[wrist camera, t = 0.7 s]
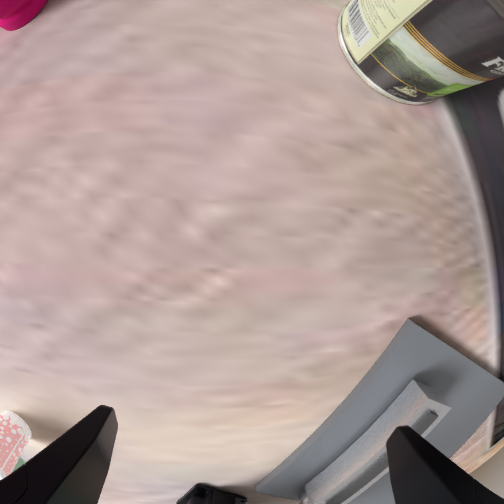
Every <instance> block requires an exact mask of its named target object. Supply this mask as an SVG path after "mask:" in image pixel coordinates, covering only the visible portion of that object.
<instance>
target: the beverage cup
mask: <svg viewBox="0 0 504 504" xmlns="http://www.w3.org/2000/svg"><path fill="white" fill-rule="evenodd" d="M31 436H32V435H31V430H30V428H29V427H28V425H27V424H26V423H25V421H23V420H22V419H21V418H20V417H19V416H18V415H17V414H15V413H14V412H12V411H9V410H5V411H4V412H3V413H2V414H1V415H0V480H1V479H3V478H5V477H6V476H8V475H9V474H11V473H12V471H13V469H14V467H15V465H16V463H17V461H18V459H19V458H20V456H21V454H22V452H23V450H24V448H25V447H26V445H27V443H28V441H29V439H30V438H31Z"/></svg>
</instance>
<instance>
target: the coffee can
mask: <svg viewBox="0 0 504 504" xmlns="http://www.w3.org/2000/svg"><path fill="white" fill-rule="evenodd" d="M337 29H338V38H339V42H340V45H341V48H342V50H343V53H344V55H345V56H346V58H347V60H348V61H349V63H350V65H351V66H352V68H353V69H354V70H355V71H356V72H357V73H358V74H359V76H360V77H361V78H362V79H363V80H364V81H365V82H366V83H367V84H368V85H370V86H371V87H372V88H373V89H375V90H376V91H378V92H379V93H381V94H382V95H384V96H386V97H388V98H390V99H392V100H394V101H397V102H400V103H405V104H410V105H421V104H426V103H429V102H432V101H434V100H435V99H437V98H440V97H442V96H445V95H448V94H450V93H453V92H456V91H459V90H462V89H465V88H468V87H471V86H474V85H477V84H480V83H483V82H486V81H490V80H493V79H497V78H500V77H503V76H504V0H350V1H349V2H348V4H347V5H346V6H345V7H344V8H343V10H342V11H341V13H340V16H339V19H338V23H337Z"/></svg>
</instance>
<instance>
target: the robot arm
mask: <svg viewBox="0 0 504 504" xmlns="http://www.w3.org/2000/svg"><path fill="white" fill-rule="evenodd" d="M117 429H118V423H117V419H116V415H115V411H114V409H113V408H112V407H109V406H105V405H100V406H98V407H97V408H96V409H95V410H93V411H92V412H91V413H89V414H88V415H87V416H86V417H84V418H83V419H82V420H81V421H79V422H78V423H77V424H75V425H74V426H73V427H72V428H70V429H69V430H68V431H67V432H65V433H64V434H63V435H61V436H60V437H59V438H57V439H56V440H55V441H54V442H52V443H51V444H50V445H48V446H47V447H46V448H44V449H43V450H42V451H41V452H39V453H38V454H37V455H35V456H34V457H33V458H31V459H30V460H29V461H27V462H26V463H25V464H23V465H22V466H21V467H19V468H18V469H17V470H15V471H14V472H12V473H11V474H9V475H8V476H6V477H5V478H3V479H1V480H0V504H97V503H98V500H99V497H100V494H101V491H102V488H103V485H104V482H105V479H106V476H107V473H108V470H109V466H110V461H111V457H112V452H113V447H114V443H115V438H116V434H117ZM386 450H387V458H388V466H389V474H390V481H391V486H392V491H393V495H394V500H395V504H504V499H503V498H501V497H500V496H498V495H496V494H495V493H493V492H492V491H490V490H489V489H487V488H486V487H484V486H483V485H482V484H480V483H479V482H478V481H477V480H475V479H473V477H471V476H470V475H469V474H468V473H466V472H465V471H464V470H463V469H461V468H460V467H459V466H458V465H456V464H455V463H454V462H453V461H451V460H450V459H449V458H448V457H446V456H445V455H444V454H443V453H441V452H440V451H439V450H438V449H437V448H435V447H434V446H433V445H432V444H430V443H429V442H428V441H427V440H426V439H424V438H423V437H422V436H421V435H419V434H418V433H417V432H416V431H415V430H413V429H412V428H411V427H410V426H408V425H403V426H398V427H396V428H395V430H394V431H393V432H392V434H391V435H390V437H389V438H388V440H387V442H386ZM246 502H247V498H246V497H242V496H238V495H234V494H231V493H227V492H223V491H220V490H217V489H213V488H210V487H207V486H204V485H200V484H196V485H195V486H194V487H192V488H191V489H190V490H189V491H188V492H187V493H186V494H185V495H184V496H183V497H182V498H180V499H179V500H178V501H177V503H176V504H245V503H246Z"/></svg>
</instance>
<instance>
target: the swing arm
mask: <svg viewBox="0 0 504 504" xmlns="http://www.w3.org/2000/svg"><path fill="white" fill-rule="evenodd" d="M450 409H451V406H450V405H449V404H448V403H447V402H446V400H445V399H444V398H443V397H442V396H441V395H440V393H439V392H438V391H437V390H436V389H433V388H431V387H429V386H427V385H425V384H422V383H420V382H418V381H416V380H414V379H412V381H411V382H410V383H409V384H408V385H407V387H406V388H405V389H404V390H403V391H402V393H401V394H400V395H399V396H398V397H397V398H396V400H395V401H394V402H393V403H392V404H391V405H390V406H389V407H388V409H387V410H386V411H385V412H384V413H383V414H382V415H381V416H380V417H379V418H378V419H377V420H376V421H375V422H374V424H373V425H372V426H371V427H370V428H369V429H368V430H367V431H366V432H365V433H364V434H363V435H362V436H361V437H360V438H359V439H358V440H357V441H355V442H354V443H353V444H352V445H351V446H350V447H349V448H348V449H347V450H346V451H345V452H344V453H343V454H342V455H340V456H339V457H338V458H337V459H336V460H335V461H334V462H333V463H331V464H330V465H329V466H328V467H327V468H326V469H324V470H323V471H322V472H321V473H320V474H318V475H317V476H316V477H315V478H314V479H312V480H311V481H310V482H309V483H307V484H306V485H305V488H303V489H301V490H300V491H299V492H298V494H297V497H298V502H299V504H347V503H349V502H350V501H352V500H353V499H354V498H356V497H357V496H358V495H360V494H361V493H362V492H364V491H365V490H366V489H368V488H369V487H370V486H371V485H373V484H374V483H375V482H376V481H378V480H379V479H380V478H381V477H382V476H384V475H385V474H386V473H387V472H388V471H389V466H388V458H387V450H386V442H387V440H388V438H389V437H390V435H391V434H392V432H393V431H394V430H395V428H396V427H398V426H403V425H408V426H410V427H411V428H412V429H413V430H415V431H416V432H417V433H418V434H419V435H421V436H422V437H423V438H425V437H426V436H427V435H428V434H429V433H430V432H431V430H432V429H433V428H434V427H435V426H436V425H437V424H438V423H439V422H440V421H441V420H442V418H443V417H444V416H445V415H446V414H447V413H448V412H449V411H450Z"/></svg>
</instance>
